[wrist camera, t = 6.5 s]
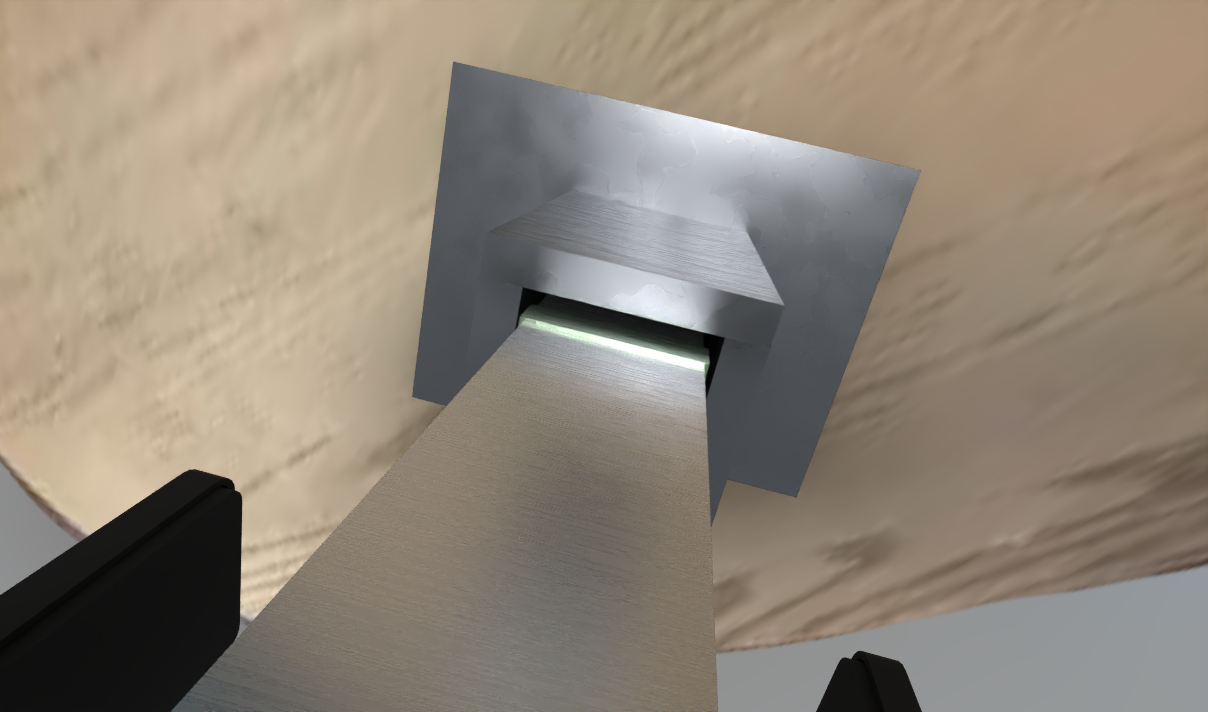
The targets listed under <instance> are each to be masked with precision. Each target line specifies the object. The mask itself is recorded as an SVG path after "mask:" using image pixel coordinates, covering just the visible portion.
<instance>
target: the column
mask: <svg viewBox="0 0 1208 712" xmlns="http://www.w3.org/2000/svg"><path fill="white" fill-rule="evenodd" d="M708 368H709V349H708V348H704V345H703V332H700V331H696V330H692V329H688V328H684V327H680V326H676V325H672V324H668V323H664V322H660V321H656V320H652V319H648V318H644V317H640V316H636V315H632V314H628V313H624V312H620V311H616V310H612V309H608V308H604V307H600V306H596V305H592V304H588V303H584V302H580V301H576V300H572V299H568V298H564V297H560V296H556V295H552V294H547V295H546V296H545V298H544V299H543V300H542V301H541V302H540V303H539V304H538V305H533V304H531V305H530V306H529V307H528V308H527V310H526V311H525V312H524V313H523V314H522V315H521V316H520V319H519V325H518V328H517V329H516V330H515V331H514V332H513V333H512V334H511V335H510V336H509V337H508V339H507V340H506V341H505V342H504V343H503V344H502V345H501V346H500V347H499V349H498V350H497V351H496V352H495V353H494V354H493V355H492V356H491V357H490V359H489V360H488V361H487V362H486V363H485V364H484V365H483V366H482V367H481V369H480V370H479V371H478V372H477V373H476V374H475V375H474V376H473V377H472V378H471V380H470V381H469V382H468V383H467V384H466V385H465V386H464V387H463V388H462V390H461V391H460V392H459V393H458V394H457V395H456V396H455V397H454V398H453V400H452V401H451V402H450V403H449V404H448V405H447V406H446V407H445V408H444V410H443V411H442V412H441V413H440V414H439V415H438V416H437V417H436V418H435V419H434V421H433V422H432V423H431V424H430V425H429V426H428V427H427V428H426V429H425V431H424V432H423V433H422V434H421V435H420V436H419V437H418V438H417V439H416V441H415V442H414V443H413V444H412V445H411V446H410V447H409V448H408V449H407V451H406V452H405V453H404V454H403V455H402V456H401V457H400V458H399V459H398V460H397V462H396V463H395V464H394V465H393V466H392V467H391V468H390V469H389V470H388V472H387V473H386V474H385V475H384V476H383V477H382V478H381V479H380V480H379V482H378V483H377V484H376V485H375V486H374V487H373V488H372V489H371V490H370V492H369V493H368V494H367V495H366V496H365V497H364V498H363V499H362V500H361V501H360V503H359V504H358V505H357V506H356V507H355V508H354V509H353V510H352V511H351V513H350V514H349V515H348V516H347V517H346V518H345V519H344V520H343V521H342V523H341V524H340V525H339V526H338V527H337V528H336V529H335V530H334V531H333V533H332V534H331V535H330V536H329V537H328V538H327V539H326V540H325V541H324V542H323V544H322V545H321V546H320V547H319V548H318V549H317V550H316V551H315V552H314V554H313V555H312V556H311V557H310V558H309V559H308V560H307V561H306V562H305V564H304V565H303V566H302V567H301V568H300V569H299V570H298V571H297V572H296V574H295V575H294V576H293V577H292V578H291V579H290V580H289V581H288V582H287V583H286V585H285V586H284V587H283V588H282V589H281V590H280V591H279V592H278V593H277V595H276V596H275V597H274V598H273V599H272V600H271V601H270V602H269V603H268V605H267V606H266V607H265V608H264V609H263V610H262V611H261V612H260V613H259V615H258V616H257V617H256V618H255V619H254V620H253V621H252V622H251V623H250V624H249V626H248V627H247V628H246V629H245V630H244V631H243V632H242V633H241V635H240V636H239V637H238V638H237V639H236V640H235V641H234V642H233V643H232V644H231V646H230V647H229V648H228V649H227V650H226V651H225V652H224V653H223V654H222V656H221V657H220V658H219V659H218V660H217V661H216V662H215V663H214V664H213V665H212V667H211V668H210V669H209V670H208V671H207V672H206V673H205V674H204V675H203V677H202V678H201V679H200V680H199V681H198V682H197V683H196V684H195V685H194V687H193V688H192V689H191V690H190V691H189V692H188V693H187V694H186V695H185V697H184V698H183V699H182V700H181V701H180V702H179V703H178V704H177V705H176V706H175V708H174V709H173V710H172V711H171V712H718V696H717V671H716V646H715V621H714V596H713V570H712V545H711V520H710V495H709V470H708V445H707V420H706V395H705V378H706V374H707V371H708Z"/></svg>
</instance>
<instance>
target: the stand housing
mask: <svg viewBox="0 0 1208 712" xmlns="http://www.w3.org/2000/svg"><path fill="white" fill-rule="evenodd" d="M920 172H921V170H916V169H912V168H908V167H903V166H899V165H895V164H891V163H886V162H882V161H878V160H873V159H869V158H865V157H861V156H856V155H852V154H848V153H843V152H839V151H835V150H830V149H826V148H822V147H818V146H813V145H809V144H805V143H800V142H796V141H792V140H788V139H783V138H779V137H775V136H770V135H766V134H762V133H757V132H753V131H749V130H745V129H740V128H736V127H732V126H727V125H723V124H719V123H715V122H710V121H706V120H702V119H697V118H693V117H689V116H685V115H680V114H676V113H672V112H667V111H663V110H659V109H654V108H650V107H646V106H642V105H637V104H633V103H629V102H624V101H620V100H616V99H612V98H607V97H603V96H599V95H594V94H590V93H586V92H581V91H577V90H573V89H569V88H564V87H560V86H556V85H551V84H547V83H543V82H539V81H534V80H530V79H526V78H521V77H517V76H513V75H508V74H504V73H500V72H496V71H491V70H487V69H483V68H478V67H474V66H470V65H466V64H461V63H457V62H453V68H452V76H451V84H450V92H449V101H448V109H447V117H446V125H445V133H444V141H443V150H442V158H441V166H440V174H439V182H438V190H437V199H436V207H435V215H434V223H433V231H432V239H431V248H430V256H429V264H428V272H427V280H426V288H425V297H424V305H423V313H422V321H421V329H420V337H419V346H418V354H417V362H416V370H415V378H414V386H413V395H412V397H415V398H418V399H422V400H426V401H430V402H434V403H438V404H441V405H445V406H447V405H448V404H449V403H450V402H451V401H452V400H453V398H454V397H455V396H456V395H457V394H458V393H459V392H460V391H461V390H462V388H463V387H464V386H465V385H466V384H467V383H468V382H469V381H470V380H471V378H472V377H473V376H474V375H475V374H476V373H477V372H478V371H479V370H480V369H481V367H482V366H483V365H484V364H485V363H486V362H487V361H488V360H489V359H490V357H491V356H492V355H493V354H494V353H495V352H496V351H497V350H498V349H499V347H500V346H501V345H502V344H503V343H504V342H505V341H506V340H507V339H508V337H509V336H510V335H511V334H512V333H513V332H514V331H515V330H516V329H517V328H518V325H519V319H520V316H521V315H522V314H523V313H524V312H525V311H526V310H527V308H528V307H529V306H530V305H531V304H533V305H538V304H539V303H540V302H541V301H542V300H543V299H544V298H545V296H546V295H547V294H552V295H556V296H560V297H564V298H568V299H572V300H576V301H580V302H584V303H588V304H592V305H596V306H600V307H604V308H608V309H612V310H616V311H620V312H624V313H628V314H632V315H636V316H640V317H644V318H648V319H652V320H656V321H660V322H664V323H668V324H672V325H676V326H680V327H684V328H688V329H692V330H696V331H700V332H703V345H704V348H708V349H709V368H708V371H707V374H706V378H705V395H706V420H707V445H708V470H709V495H710V520H711V526H712V523H713V520H714V517H715V514H716V511H717V508H718V505H719V502H720V499H721V496H722V493H723V490H724V487H725V484H726V481H727V479H728V480H732V481H736V482H740V483H743V484H747V485H751V486H755V487H759V488H762V489H766V490H770V491H774V492H778V493H782V494H785V495H789V496H793V497H797V494H798V492H799V489H800V486H801V484H802V481H803V479H804V476H805V473H806V471H807V468H808V466H809V463H810V460H811V458H812V455H813V452H814V450H815V447H816V445H817V442H818V439H819V437H820V434H821V431H822V429H823V426H824V424H825V421H826V418H827V416H828V413H829V410H830V408H831V405H832V403H833V400H834V397H835V395H836V392H837V389H838V387H839V384H840V382H841V379H842V376H843V374H844V371H845V368H846V366H847V363H848V361H849V358H850V355H851V353H852V350H853V347H854V345H855V342H856V340H857V337H858V334H859V332H860V329H861V326H862V324H863V321H864V319H865V316H866V313H867V311H868V308H869V305H870V303H871V300H872V298H873V295H874V292H875V290H876V287H877V284H878V282H879V279H880V277H881V274H882V271H883V269H884V266H885V263H886V261H887V258H888V256H889V253H890V250H891V248H892V245H893V242H894V240H895V237H896V235H897V232H898V229H899V227H900V224H901V222H902V219H903V216H904V214H905V211H906V208H907V206H908V203H909V201H910V198H911V195H912V193H913V190H914V187H915V185H916V182H917V180H918V177H919V174H920Z"/></svg>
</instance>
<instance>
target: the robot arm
mask: <svg viewBox="0 0 1208 712" xmlns="http://www.w3.org/2000/svg"><path fill="white" fill-rule="evenodd" d="M241 538H242V496H241V494H240V492H238V491H235V486H234V483H233V482H232V480H230V479H228V478H225V477H221V476H218V475H214V474H210V473H207V472H203V471H199V470H196V469H194V470H188V471H186V472H184V473H182V474H181V475H179V476H178V477H176V478H175V479H173V480H172V481H170V482H169V483H167V484H166V485H164V486H163V487H161V488H160V489H158V490H157V491H155V492H154V493H152V494H151V495H149V496H148V497H146V498H145V499H143V500H142V501H140V502H139V503H137V504H136V505H134V506H133V507H131V508H130V509H128V510H127V511H125V512H124V513H122V514H121V515H119V516H118V517H116V518H115V519H113V520H112V521H110V522H109V523H107V524H106V525H104V526H103V527H101V528H100V529H98V530H97V531H95V532H94V533H92V534H91V535H89V536H88V537H86V538H85V539H83V540H82V541H80V542H79V543H77V544H76V545H74V546H73V547H72V548H70V549H69V550H67V551H66V552H64V553H63V554H61V555H60V556H58V557H57V558H55V559H54V560H52V561H51V562H49V563H48V564H46V565H45V566H43V567H42V568H40V569H39V570H37V571H36V572H34V573H33V574H31V575H30V576H28V577H27V578H25V579H24V580H22V581H21V582H19V583H18V584H16V585H15V586H13V587H12V588H10V589H9V590H7V591H6V592H4V593H3V594H1V595H0V712H171V711H172V710H173V709H174V708H175V706H176V705H177V704H178V703H179V702H180V701H181V700H182V699H183V698H184V697H185V695H186V694H187V693H188V692H189V691H190V690H191V689H192V688H193V687H194V685H195V684H196V683H197V682H198V681H199V680H200V679H201V678H202V677H203V675H204V674H205V673H206V672H207V671H208V670H209V669H210V668H211V667H212V665H213V664H214V663H215V662H216V661H217V660H218V659H219V658H220V657H221V656H222V654H223V653H224V652H225V651H226V650H227V649H228V648H229V647H230V646H231V644H232V643H233V642H234V641H235V639H236V636H237V634H238V631H239V626H240V589H241ZM816 712H922V711H921V708H920V706H919V703H918V701H917V698H916V696H915V693H914V691H913V688H912V686H911V683H910V681H909V678H908V675H907V673H906V670H905V668H904V667H903V665H902V664H901V663H900V662H899V661H896V660H892V659H889V658H885V657H881V656H878V655H874V654H871V653H867V652H863V651H858V652H856V653H855V654H854V656H853V657H852V659H849V658H842V659H841V660H840V662H839V663H838V665H837V668H836V670H835V672H834V674H833V676H832V679H831V681H830V683H829V685H828V687H827V689H826V691H825V694H824V696H823V698H822V700H821V702H820V705H819V707H818V709H817V711H816Z"/></svg>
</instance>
